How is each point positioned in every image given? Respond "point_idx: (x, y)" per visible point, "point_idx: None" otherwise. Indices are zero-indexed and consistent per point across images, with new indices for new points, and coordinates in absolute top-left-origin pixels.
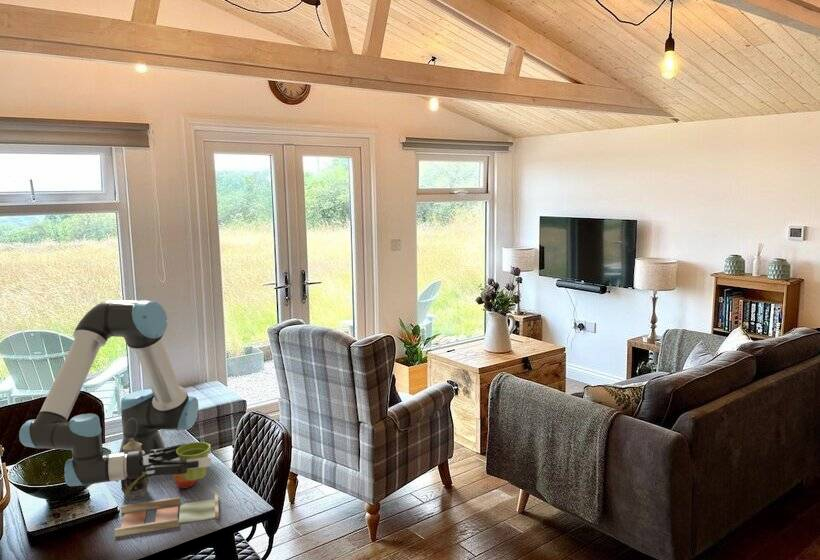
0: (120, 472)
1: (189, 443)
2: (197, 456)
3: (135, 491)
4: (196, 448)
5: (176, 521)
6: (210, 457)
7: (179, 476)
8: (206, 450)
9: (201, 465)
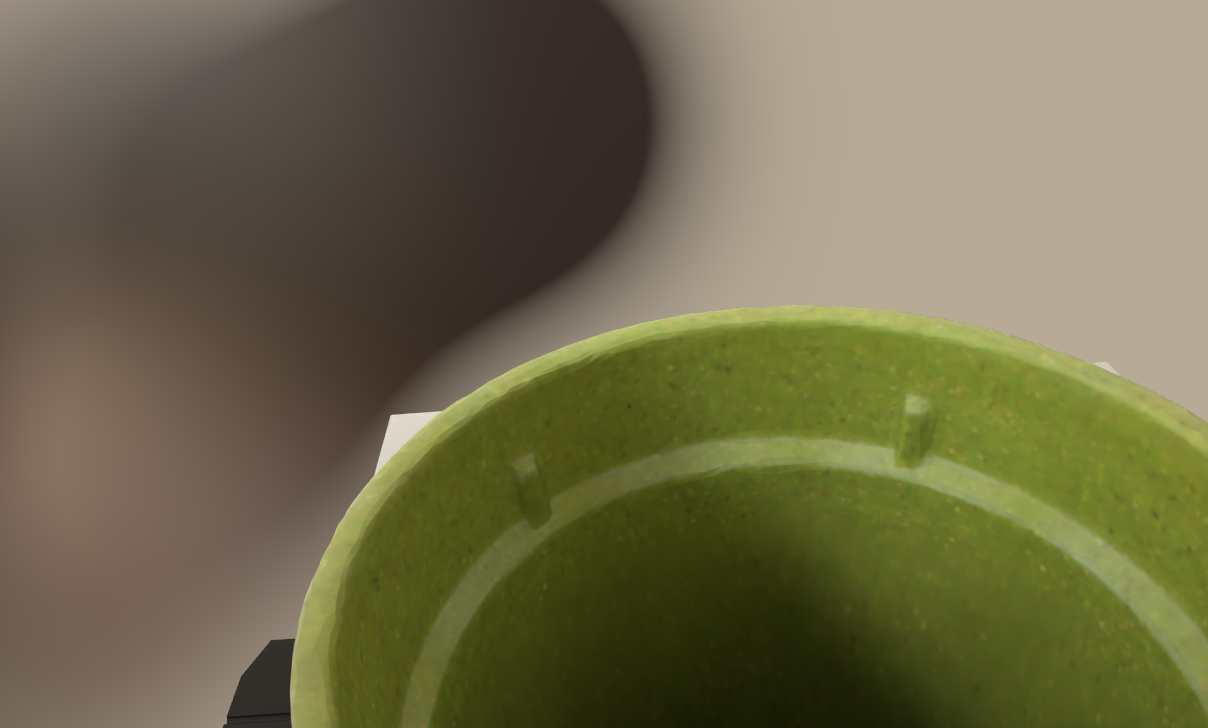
0: None
1: (330, 696)
2: (1188, 515)
3: None
4: (426, 660)
5: None
6: (1105, 367)
7: None
8: (986, 330)
9: None
